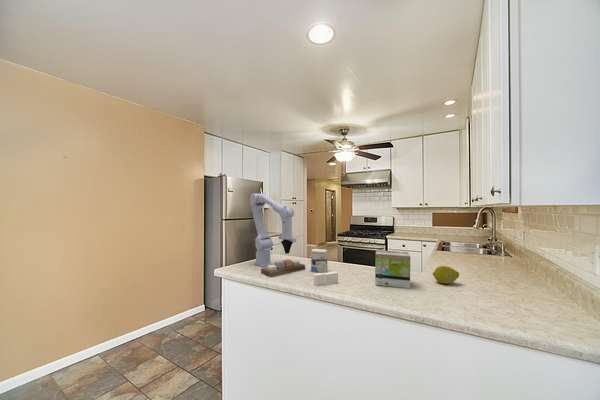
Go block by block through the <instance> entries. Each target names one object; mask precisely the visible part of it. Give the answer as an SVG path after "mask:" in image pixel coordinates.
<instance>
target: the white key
mask: <svg viewBox="0 0 600 400" xmlns="http://www.w3.org/2000/svg"><path fill="white" fill-rule="evenodd" d="M266 268H267V270H269V271H273V270H277V266H275V264H273V265H268V266H266Z"/></svg>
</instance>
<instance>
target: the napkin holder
mask: <svg viewBox="0 0 600 400" xmlns="http://www.w3.org/2000/svg"><path fill="white" fill-rule="evenodd" d="M333 284H339V272H337V271H329V272H325V273H322V272H316V273H313V285H314V286H315V287H318V286H322V285H323V286H324V285H325V286H329V285H333Z"/></svg>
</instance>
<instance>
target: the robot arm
mask: <svg viewBox="0 0 600 400" xmlns="http://www.w3.org/2000/svg"><path fill="white" fill-rule="evenodd" d="M249 204H250V207H251V211H252V212H251V213H252V216H253V221H254V223H255V224H254V226H255V229H256V234H257V236H256V238H255V239H254V241H255V248H256V252H255V262H254V264H255V265H257V266H259V267H261V268H262V267H263V268H264V267H267V266H269V265H274V263H273V262H271V250H272V248H273V245H274V242H273V240H272V237H271V235H269V234H268V232H267V230H266V226H265V222H264V218H263V217H264V216H263V213H262V208H263V207H264V206H265V205H266V204H267V205H269V206H270V207H272V211H274V212H275V213H277V214H278V215H279V217H280V221H281V235H278V240H281V241H280V243H281V245H282V247H283V249H284V250H283V251H284V254H285V255H286V254H290V253H291V249H292V246H293V244H294V243H297V238H296V237H294V236H293V217H294V215H295V211H294V209H293V208H292V207H287V205H284V204H283V203H282V201H275V200H274V199H273V198H271V197H270V196H269V194H267V193H255V192H253V193H251V194H250V197H249Z"/></svg>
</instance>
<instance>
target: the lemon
mask: <svg viewBox="0 0 600 400" xmlns="http://www.w3.org/2000/svg"><path fill="white" fill-rule="evenodd" d="M432 275H433V277H434V279H435V281H436V282H438V283H440V284H444V285H449V284H452V283H454V282H455V281H457V279H458V278H459V277H460V272H459V271H457V270H455V269H454V268H452V267H450V266H447V265H445V266H444V265H440V266H438V267H436V268H435V269H434V271H433V272H432Z"/></svg>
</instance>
